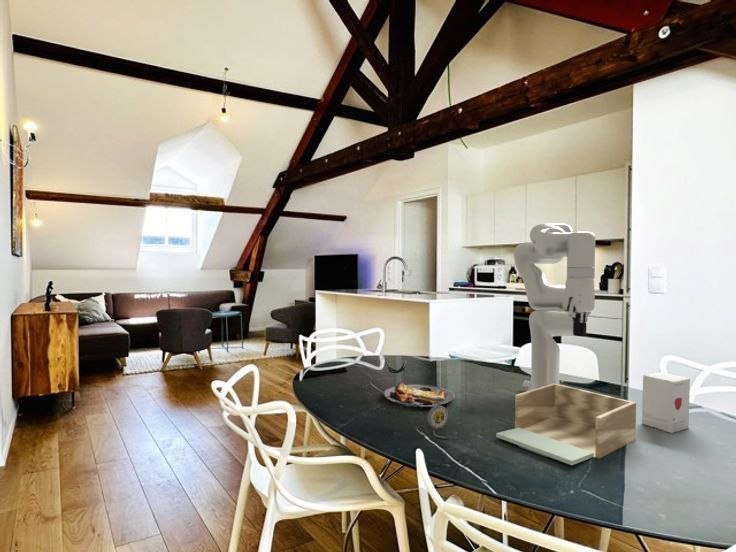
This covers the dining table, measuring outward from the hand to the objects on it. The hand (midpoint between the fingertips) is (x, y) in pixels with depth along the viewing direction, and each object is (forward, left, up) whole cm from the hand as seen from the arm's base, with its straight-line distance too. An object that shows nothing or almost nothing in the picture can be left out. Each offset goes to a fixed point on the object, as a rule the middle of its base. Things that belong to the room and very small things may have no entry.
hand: (579, 335), depth 136 cm
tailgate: (+4, -20, -26) cm, 33 cm away
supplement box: (+16, +20, -27) cm, 38 cm away
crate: (+4, -10, -27) cm, 29 cm away
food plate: (-48, -20, -28) cm, 59 cm away
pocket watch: (-20, -37, -27) cm, 50 cm away
